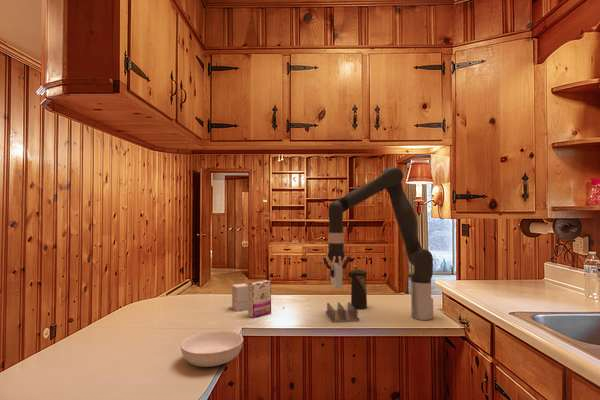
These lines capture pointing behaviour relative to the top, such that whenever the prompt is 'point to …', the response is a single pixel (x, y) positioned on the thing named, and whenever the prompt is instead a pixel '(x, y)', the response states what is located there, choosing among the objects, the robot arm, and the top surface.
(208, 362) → the serving bowl
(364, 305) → the container
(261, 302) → the candy bar box
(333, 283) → the dish slab
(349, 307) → the dish rack
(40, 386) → the top surface
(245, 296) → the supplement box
